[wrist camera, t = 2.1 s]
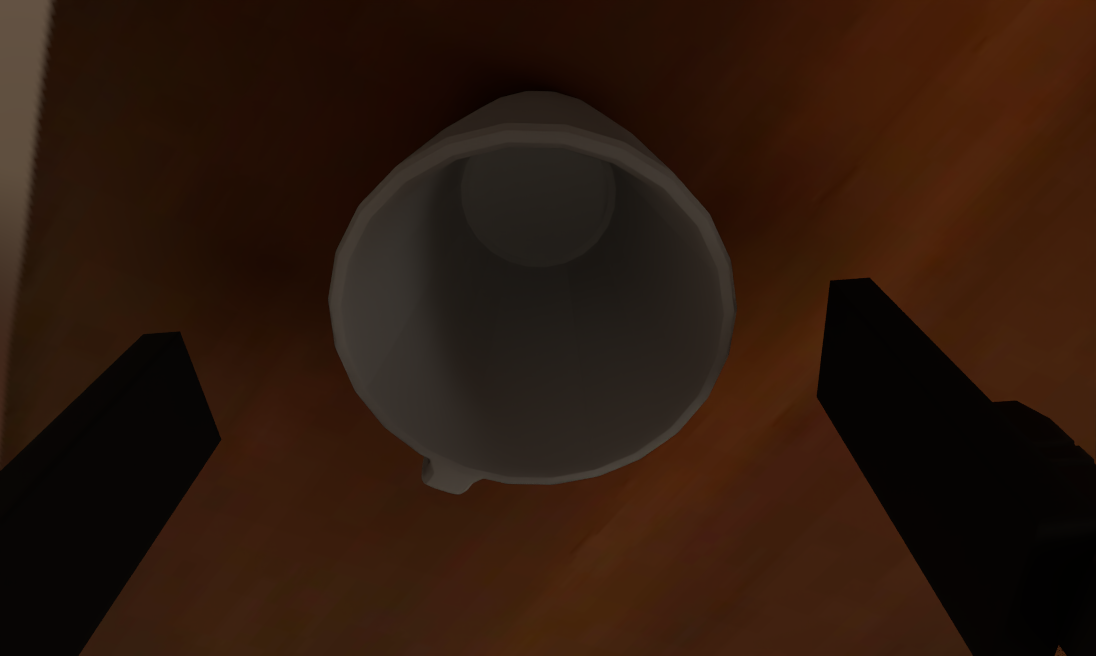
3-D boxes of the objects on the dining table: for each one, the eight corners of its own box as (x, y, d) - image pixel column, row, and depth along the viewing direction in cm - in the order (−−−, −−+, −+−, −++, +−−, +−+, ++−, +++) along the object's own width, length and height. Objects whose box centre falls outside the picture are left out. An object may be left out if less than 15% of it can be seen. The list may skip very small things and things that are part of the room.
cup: (718, 122, 20) (823, 234, 12) (568, 394, 24) (576, 599, 16) (462, 0, 18) (400, 42, 11) (352, 314, 22) (254, 499, 15)
